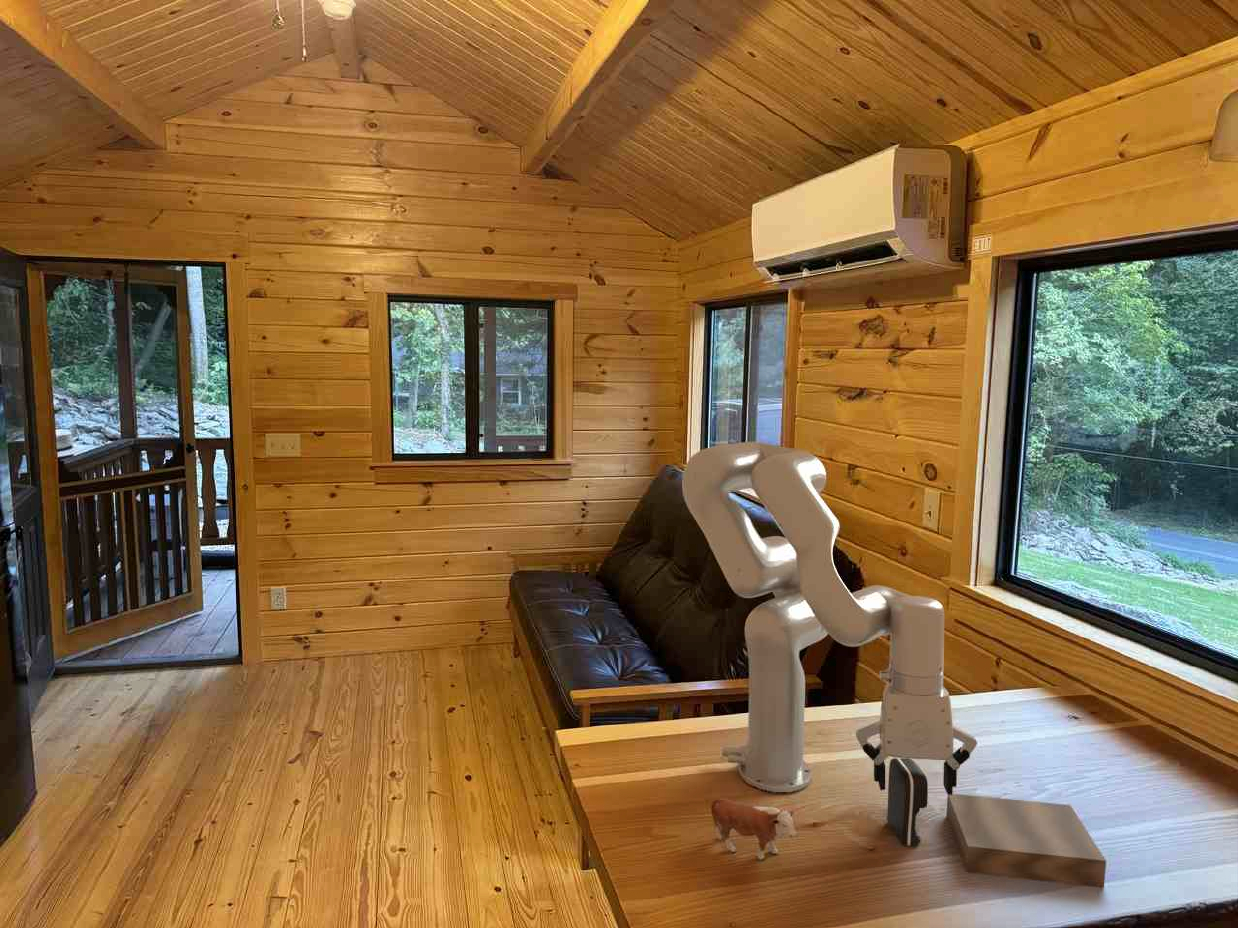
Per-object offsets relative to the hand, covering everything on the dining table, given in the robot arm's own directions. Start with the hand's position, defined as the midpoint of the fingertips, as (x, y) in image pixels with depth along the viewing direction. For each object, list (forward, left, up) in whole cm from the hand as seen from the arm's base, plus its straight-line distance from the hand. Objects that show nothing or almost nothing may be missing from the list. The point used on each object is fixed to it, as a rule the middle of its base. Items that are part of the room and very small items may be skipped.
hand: (914, 787), depth 123 cm
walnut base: (+15, 0, -8) cm, 17 cm away
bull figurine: (-24, -8, -8) cm, 27 cm away
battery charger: (-1, +1, -8) cm, 8 cm away
